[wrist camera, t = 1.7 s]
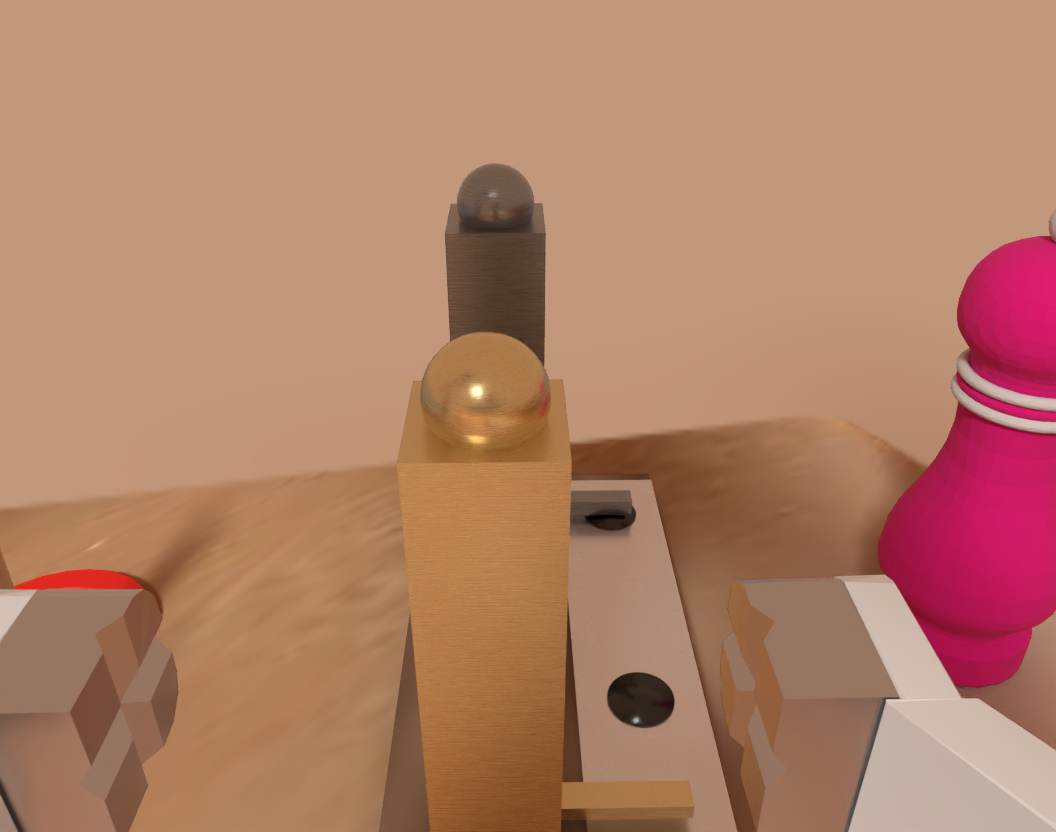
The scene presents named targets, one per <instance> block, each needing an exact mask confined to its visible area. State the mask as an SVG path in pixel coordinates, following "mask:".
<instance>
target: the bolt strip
mask: <svg viewBox="0 0 1056 832" xmlns="http://www.w3.org/2000/svg"><path fill="white" fill-rule="evenodd" d="M596 490H630V493H631V498H632V513H631V515H570V540H569V574H568V612H569V624H570V636H571V648H572V660H573V672H574V684H575V696H576V708H577V720H578V732H579V744H580V757H581V769H582V781H583V782H620V781H683V780H689V781H690V786H691V791H692V796H693V801H694V805H695V808H694V815H693V818H675V819H615V820H586V829H587V832H737V828H736V824H735V820H734V816H733V812H732V808H731V804H730V800H729V795H728V791H727V787H726V783H725V779H724V775H723V771H722V767H721V763H720V759H719V755H718V751H717V747H716V742H715V738H714V734H713V730H712V726H711V722H710V718H709V714H708V710H707V706H706V702H705V698H704V693H703V689H702V685H701V681H700V677H699V673H698V669H697V665H696V661H695V657H694V653H693V649H692V645H691V640H690V636H689V632H688V628H687V624H686V620H685V616H684V612H683V608H682V604H681V600H680V596H679V592H678V587H677V583H676V579H675V575H674V571H673V567H672V563H671V559H670V555H669V551H668V547H667V543H666V539H665V534H664V530H663V526H662V522H661V518H660V514H659V510H658V506H657V502H656V498H655V494H654V490H653V486H652V481H651V480H578V481H571V491H596Z"/></svg>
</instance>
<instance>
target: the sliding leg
mask: <svg viewBox="0 0 1056 832" xmlns="http://www.w3.org/2000/svg"><path fill="white" fill-rule="evenodd" d="M397 472H398V483H399V494H400V505H401V515H402V526H403V537H404V548H405V559H406V570H407V581H408V592H409V603H410V614H411V625H412V636H413V647H414V658H415V669H416V680H417V691H418V702H419V713H420V724H421V735H422V746H423V757H424V768H425V779H426V790H427V801H428V812H429V823H430V832H561V820H615V819H675V818H693V815H694V808H695V805H694V801H693V796H692V791H691V786H690V781H689V780H683V781H620V782H562V776H563V742H564V709H565V675H566V641H567V607H568V574H569V540H570V506H571V473H572V459H571V450H570V441H569V432H568V423H567V414H566V405H565V396H564V387H563V380H549V379H548V376H547V373H546V370H545V369H544V367H543V365H542V363H541V361H540V360H539V359H538V357H537V356H536V355H535V353H534V352H533V351H532V350H531V349H529V348H528V347H527V346H526V345H525V344H523V343H522V342H520V341H519V340H517V339H515V338H513V337H510V336H508V335H505V334H502V333H497V332H486V331H484V332H474V333H470V334H466V335H463V336H460V337H458V338H456V339H454V340H452V341H451V342H449V343H448V344H447V345H445V346H444V347H443V348H441V349H440V351H439V352H438V353H437V354H436V355H435V356H434V357H433V359H432V360H431V362H430V363H429V365H428V367H427V369H426V371H425V374H424V377H423V380H422V381H413V386H412V391H411V395H410V400H409V405H408V411H407V415H406V420H405V425H404V430H403V435H402V440H401V445H400V450H399V455H398V460H397Z"/></svg>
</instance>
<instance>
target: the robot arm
mask: <svg viewBox="0 0 1056 832" xmlns="http://www.w3.org/2000/svg"><path fill="white" fill-rule="evenodd" d="M728 612H729V615H730V619H731V622H732V625H733V629H734V632H733V633H732V634H731V635H730V636H729V637H728V638H727V639H726V640H725V641H724V642H723V646H722V655H721V664H720V677H721V697H722V703H723V709H724V715H725V719H726V723H727V727H728V731H729V735H730V736H731V737H732V738H733V739H734V740H735V741H737V742H738V743H739V744H740V745H741V746H742V747H743V748H744V752H743V758H742V764H741V770H740V776H741V779H742V783H743V787H744V790H745V794H746V797H747V801H748V805H749V808H750V812H751V816H752V819H753V823H754V826H755V830H756V832H1056V750H1055V749H1053V748H1052V747H1050V746H1049V745H1047V744H1046V743H1044V742H1043V741H1041V740H1040V739H1038V738H1037V737H1035V736H1034V735H1032V734H1031V733H1029V732H1028V731H1026V730H1025V729H1023V728H1022V727H1020V726H1019V725H1017V724H1016V723H1014V722H1013V721H1011V720H1010V719H1008V718H1007V717H1005V716H1004V715H1002V714H1001V713H999V712H998V711H996V710H995V709H993V708H992V707H990V706H989V705H987V704H986V703H984V702H983V701H981V700H980V699H978V698H962V697H961V695H960V694H959V692H958V690H957V688H956V687H955V685H954V683H953V682H952V680H951V678H950V677H949V675H948V673H947V671H946V670H945V668H944V666H943V665H942V663H941V661H940V659H939V658H938V656H937V654H936V653H935V651H934V649H933V647H932V646H931V644H930V642H929V641H928V639H927V637H926V636H925V634H924V632H923V630H922V629H921V627H920V625H919V624H918V622H917V620H916V618H915V617H914V615H913V613H912V612H911V610H910V608H909V607H908V605H907V603H906V601H905V600H904V598H903V596H902V595H901V593H900V591H899V589H898V588H897V586H896V584H895V583H894V581H893V580H892V579H890V578H889V577H887V576H886V575H857V576H835V577H834V578H830V577H823V578H781V579H738V580H735V582H734V584H733V587H732V589H731V592H730V599H729V605H728ZM162 620H163V619H162V616H161V613H160V610H159V607H158V604H157V601H156V598H155V595H154V594H153V593H150V592H148V591H146V590H144V589H45V590H20V589H0V832H129V830H130V828H131V825H132V823H133V820H134V818H135V816H136V813H137V811H138V808H139V806H140V804H141V801H142V799H143V796H144V794H145V792H146V789H147V787H148V784H147V780H146V777H145V774H144V771H143V768H142V764H143V763H144V762H146V761H147V760H148V759H149V758H150V757H152V756H153V755H154V754H155V753H156V752H158V751H159V750H160V749H161V748H163V747H164V745H165V743H166V740H167V737H168V735H169V732H170V730H171V727H172V724H173V722H174V716H175V710H176V704H177V697H178V679H177V669H176V665H175V661H174V657H173V654H172V652H171V651H170V650H169V649H168V648H166V647H165V646H164V645H163V644H162V643H160V642H159V641H158V640H157V639H155V638H154V636H155V634H156V632H157V630H158V628H159V626H160V624H161V622H162Z"/></svg>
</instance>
